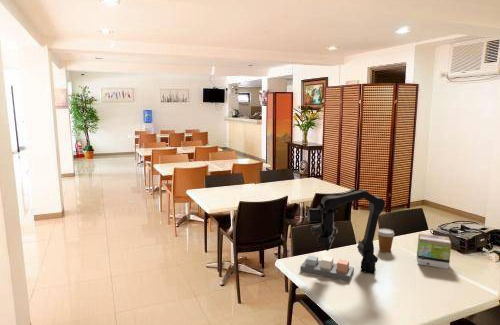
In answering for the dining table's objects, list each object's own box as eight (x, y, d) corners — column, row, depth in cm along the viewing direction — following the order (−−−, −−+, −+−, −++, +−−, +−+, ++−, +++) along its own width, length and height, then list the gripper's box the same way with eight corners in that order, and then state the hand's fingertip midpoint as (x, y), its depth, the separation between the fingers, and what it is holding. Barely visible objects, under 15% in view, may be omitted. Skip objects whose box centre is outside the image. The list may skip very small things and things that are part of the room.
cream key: (333, 267, 181) (333, 257, 181) (330, 270, 177) (331, 261, 176) (323, 265, 184) (323, 256, 183) (320, 269, 179) (321, 259, 178)
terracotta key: (348, 270, 178) (349, 260, 177) (346, 274, 173) (347, 264, 173) (338, 268, 180) (339, 258, 179) (336, 272, 176) (337, 262, 175)
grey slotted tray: (353, 272, 180) (353, 267, 179) (349, 282, 170) (349, 276, 170) (306, 263, 191) (306, 258, 190) (300, 271, 181) (300, 266, 181)
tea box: (417, 265, 189) (419, 238, 186) (416, 257, 198) (418, 232, 196) (449, 269, 183) (451, 242, 181) (446, 262, 192) (448, 236, 190)
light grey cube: (317, 266, 185) (318, 257, 184) (315, 269, 181) (315, 260, 180) (308, 264, 187) (308, 255, 186) (305, 268, 183) (306, 258, 182)
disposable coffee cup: (396, 253, 204) (397, 233, 202) (379, 253, 204) (380, 233, 202) (389, 247, 213) (391, 228, 211) (374, 247, 213) (375, 228, 212)
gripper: (317, 214, 188) (317, 241, 191) (306, 224, 172) (306, 254, 174) (338, 216, 184) (337, 245, 186) (329, 227, 167) (328, 258, 169)
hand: (327, 250), depth 179 cm, fingers closed
